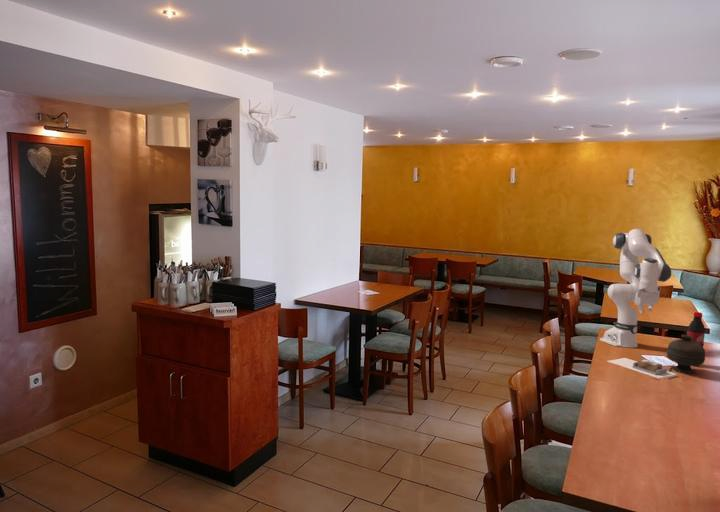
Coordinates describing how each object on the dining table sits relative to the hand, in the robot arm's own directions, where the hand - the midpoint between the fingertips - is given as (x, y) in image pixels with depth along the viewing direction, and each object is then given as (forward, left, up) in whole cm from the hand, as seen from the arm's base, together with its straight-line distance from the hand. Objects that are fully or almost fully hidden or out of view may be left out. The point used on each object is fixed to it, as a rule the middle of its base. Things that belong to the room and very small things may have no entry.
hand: (645, 312), depth 296 cm
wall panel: (+8, -12, -29) cm, 32 cm away
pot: (+19, +9, -29) cm, 36 cm away
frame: (+13, -12, -28) cm, 33 cm away
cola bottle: (+14, +26, -29) cm, 42 cm away
